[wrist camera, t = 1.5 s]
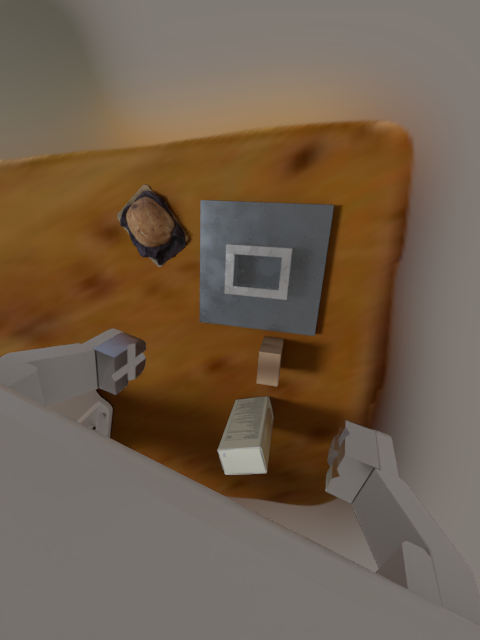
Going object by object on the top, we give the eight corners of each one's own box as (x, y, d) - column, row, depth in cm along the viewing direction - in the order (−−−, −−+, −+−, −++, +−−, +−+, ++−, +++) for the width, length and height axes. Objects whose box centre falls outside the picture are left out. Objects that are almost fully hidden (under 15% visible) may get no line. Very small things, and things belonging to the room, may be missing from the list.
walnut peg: (280, 367, 45) (277, 386, 39) (262, 364, 45) (256, 383, 39) (283, 338, 43) (280, 354, 37) (264, 336, 44) (259, 351, 38)
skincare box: (240, 419, 49) (222, 476, 38) (235, 398, 48) (214, 450, 37) (276, 417, 47) (267, 475, 36) (271, 395, 46) (260, 448, 35)
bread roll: (116, 217, 44) (100, 216, 40) (150, 179, 41) (136, 174, 37) (158, 271, 45) (146, 274, 41) (195, 238, 42) (185, 238, 38)
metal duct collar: (314, 333, 42) (315, 342, 38) (201, 319, 45) (194, 326, 42) (333, 205, 36) (336, 203, 33) (203, 201, 39) (194, 198, 36)
